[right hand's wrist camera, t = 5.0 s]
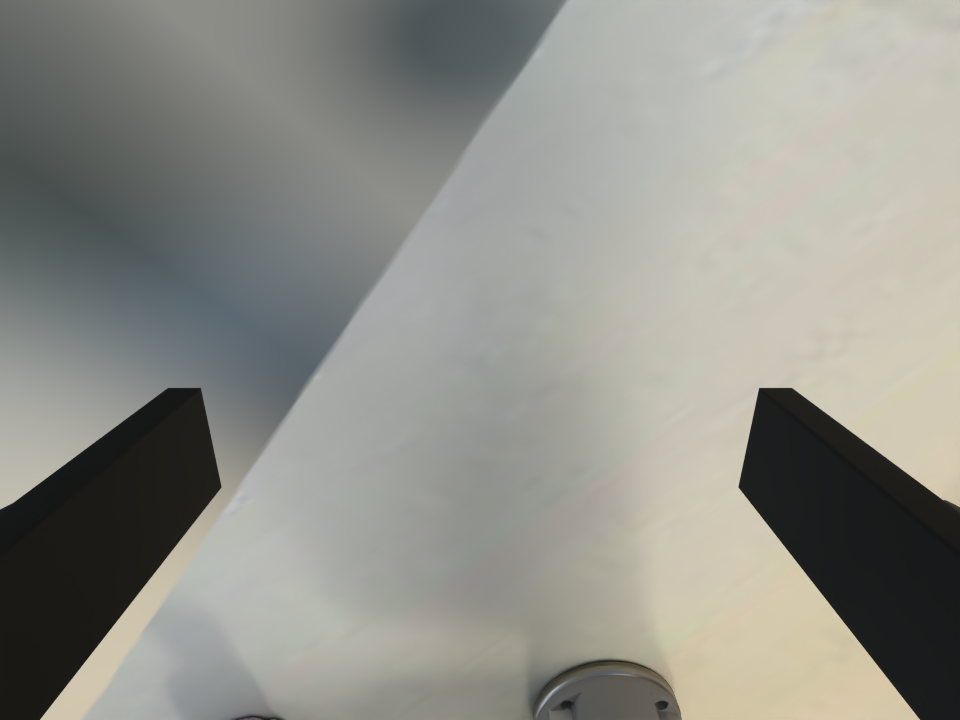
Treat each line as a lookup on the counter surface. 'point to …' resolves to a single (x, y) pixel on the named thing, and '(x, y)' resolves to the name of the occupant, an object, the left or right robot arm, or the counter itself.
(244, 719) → the figurine
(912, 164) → the counter surface
